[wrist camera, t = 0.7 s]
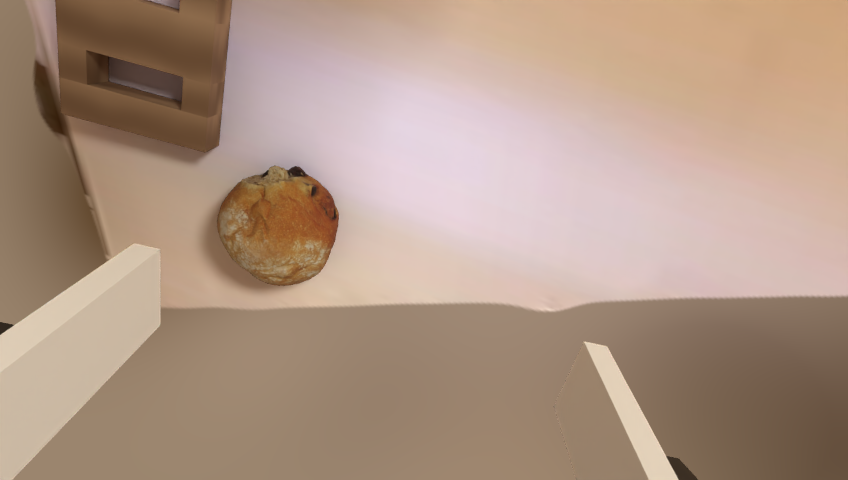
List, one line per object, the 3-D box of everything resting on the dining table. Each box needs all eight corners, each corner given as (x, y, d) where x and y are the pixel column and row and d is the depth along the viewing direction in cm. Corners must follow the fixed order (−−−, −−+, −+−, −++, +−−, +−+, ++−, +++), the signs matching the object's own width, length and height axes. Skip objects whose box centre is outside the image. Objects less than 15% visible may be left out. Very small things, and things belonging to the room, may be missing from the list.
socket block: (75, -162, 30) (46, -178, 28) (241, -109, 31) (226, -120, 29) (84, 108, 38) (61, 113, 35) (218, 145, 39) (204, 152, 36)
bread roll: (237, 202, 45) (187, 262, 39) (263, 132, 37) (205, 193, 32) (327, 255, 47) (290, 319, 41) (367, 197, 39) (330, 266, 34)
